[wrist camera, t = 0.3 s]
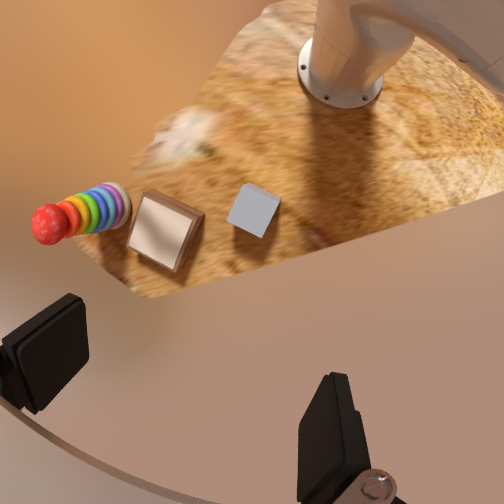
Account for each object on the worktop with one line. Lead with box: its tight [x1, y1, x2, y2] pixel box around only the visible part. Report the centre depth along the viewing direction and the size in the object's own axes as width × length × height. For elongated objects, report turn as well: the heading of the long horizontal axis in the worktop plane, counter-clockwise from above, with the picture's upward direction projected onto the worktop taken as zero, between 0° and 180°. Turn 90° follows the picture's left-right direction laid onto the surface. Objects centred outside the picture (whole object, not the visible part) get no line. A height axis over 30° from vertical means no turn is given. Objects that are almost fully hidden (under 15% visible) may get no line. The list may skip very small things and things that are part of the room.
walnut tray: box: [126, 190, 205, 273], centre depth 43 cm, size 9×9×4 cm
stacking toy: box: [31, 182, 131, 245], centre depth 36 cm, size 8×8×19 cm
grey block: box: [226, 183, 280, 238], centre depth 39 cm, size 5×5×6 cm
